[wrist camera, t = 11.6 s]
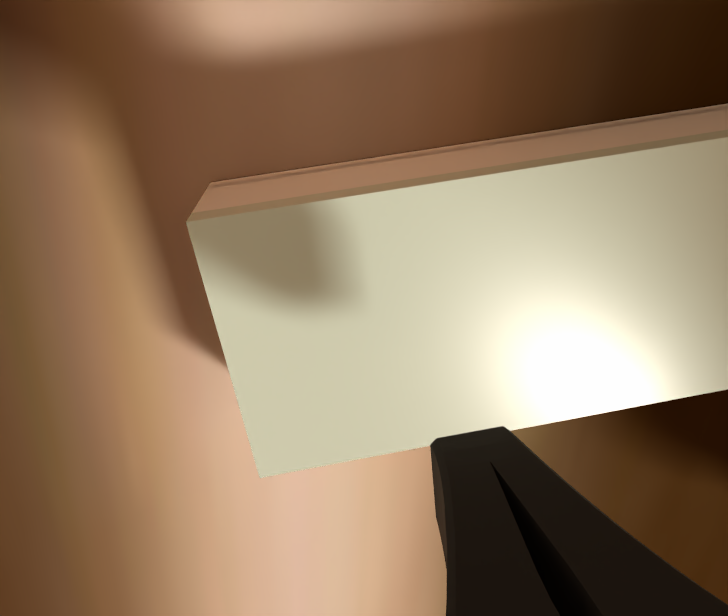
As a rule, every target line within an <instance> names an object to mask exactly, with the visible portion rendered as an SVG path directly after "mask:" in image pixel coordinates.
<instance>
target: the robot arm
mask: <svg viewBox="0 0 728 616" xmlns="http://www.w3.org/2000/svg"><path fill="white" fill-rule="evenodd" d="M430 446H431V459H432V471H433V484H434V496H435V509H436V518H437V522H438V526H439V531H440V535H441V540H442V545H443V551H444V556H445V562H446V568H447V605H446V616H728V605H727V604H726V603H724V602H723V601H721V600H720V599H718V598H717V597H715V596H714V595H712V594H711V593H709V592H708V591H706V590H705V589H704V588H702V587H701V586H699V585H698V584H696V583H695V582H694V581H692V580H691V579H689V578H688V577H687V576H685V575H684V574H682V573H681V572H680V571H678V570H677V569H675V568H674V567H673V566H671V565H670V564H669V563H667V562H666V561H665V560H663V559H662V558H661V557H659V556H658V555H657V554H655V553H654V552H653V551H651V550H650V549H649V548H647V547H646V546H645V545H643V544H642V543H641V542H639V541H638V540H637V539H635V538H634V537H633V536H632V535H630V534H629V533H628V532H626V531H625V530H624V529H623V528H621V527H620V526H619V525H618V524H616V523H615V522H614V521H613V520H611V519H610V518H609V517H608V516H607V515H605V514H604V513H603V512H602V511H600V510H599V509H598V508H597V507H596V506H594V505H593V504H592V503H591V502H590V501H588V500H587V499H586V498H585V497H583V496H582V495H581V494H580V493H579V492H577V491H576V490H575V489H574V488H573V487H572V486H571V485H569V484H568V483H567V482H566V481H565V480H564V479H562V478H561V477H560V476H559V475H558V474H557V473H556V472H555V471H553V470H552V469H551V468H550V467H549V466H548V465H547V464H545V463H544V462H543V461H542V460H541V459H540V458H539V457H538V456H537V455H536V454H534V453H533V452H532V451H531V450H530V449H529V448H528V447H527V446H526V445H525V444H524V443H523V442H521V441H520V440H519V439H518V438H517V437H516V436H515V435H514V434H513V433H512V432H511V431H510V430H508V429H507V428H506V427H504V426H500V427H495V428H489V429H484V430H478V431H473V432H467V433H462V434H456V435H451V436H446V437H440V438H436V439H435V440H434V441H433V442H432V443H431V444H430Z"/></svg>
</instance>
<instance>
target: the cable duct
mask: <svg viewBox="0 0 728 616" xmlns="http://www.w3.org/2000/svg"><path fill="white" fill-rule="evenodd" d="M722 130H728V104H722V105H715V106H708V107H702V108H695V109H689V110H682V111H676V112H669V113H663V114H656V115H649V116H643V117H636V118H630V119H623V120H617V121H610V122H604V123H597V124H590V125H584V126H577V127H571V128H564V129H558V130H551V131H544V132H538V133H531V134H525V135H518V136H512V137H505V138H499V139H492V140H485V141H479V142H472V143H466V144H459V145H453V146H446V147H440V148H433V149H426V150H420V151H413V152H407V153H400V154H394V155H387V156H381V157H374V158H367V159H361V160H354V161H348V162H341V163H335V164H328V165H321V166H315V167H308V168H302V169H295V170H289V171H282V172H276V173H269V174H262V175H256V176H249V177H243V178H236V179H230V180H223V181H217V182H210V184H209V186H208V187H207V189H206V190H205V192H204V194H203V195H202V197H201V199H200V200H199V202H198V203H197V205H196V207H195V208H194V210H193V212H192V213H196V212H202V211H208V210H215V209H221V208H228V207H234V206H240V205H247V204H253V203H260V202H266V201H273V200H279V199H285V198H292V197H298V196H305V195H311V194H317V193H324V192H330V191H337V190H343V189H350V188H356V187H362V186H369V185H375V184H382V183H388V182H394V181H401V180H407V179H414V178H420V177H427V176H433V175H439V174H446V173H452V172H459V171H465V170H471V169H478V168H484V167H491V166H497V165H504V164H510V163H516V162H523V161H529V160H536V159H542V158H548V157H555V156H561V155H568V154H574V153H581V152H587V151H593V150H600V149H606V148H613V147H619V146H625V145H632V144H638V143H645V142H651V141H658V140H664V139H670V138H677V137H683V136H690V135H696V134H702V133H709V132H715V131H722Z"/></svg>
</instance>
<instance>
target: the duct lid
mask: <svg viewBox="0 0 728 616" xmlns="http://www.w3.org/2000/svg"><path fill="white" fill-rule="evenodd" d="M186 225H187V228H188V232H189V235H190V239H191V242H192V246H193V249H194V253H195V256H196V259H197V263H198V266H199V270H200V273H201V277H202V280H203V284H204V287H205V291H206V294H207V297H208V301H209V304H210V308H211V311H212V315H213V318H214V322H215V325H216V329H217V332H218V335H219V339H220V342H221V346H222V349H223V353H224V356H225V360H226V363H227V367H228V370H229V374H230V377H231V380H232V384H233V387H234V391H235V394H236V398H237V401H238V405H239V408H240V412H241V415H242V418H243V422H244V425H245V429H246V432H247V436H248V439H249V443H250V446H251V450H252V453H253V457H254V460H255V463H256V467H257V470H258V474H259V477H260V478H263V477H268V476H274V475H279V474H284V473H289V472H295V471H300V470H305V469H310V468H316V467H321V466H326V465H332V464H337V463H342V462H347V461H353V460H358V459H363V458H368V457H374V456H379V455H384V454H389V453H395V452H400V451H405V450H411V449H416V448H421V447H426V446H430V444H431V443H432V442H433V441H434V440H435V439H436V438H440V437H446V436H451V435H456V434H462V433H467V432H473V431H478V430H484V429H489V428H495V427H500V426H504V427H506V428H507V429H508V430H510V431H511V430H516V429H521V428H527V427H532V426H537V425H542V424H548V423H553V422H558V421H563V420H569V419H574V418H579V417H585V416H590V415H595V414H600V413H606V412H611V411H616V410H621V409H627V408H632V407H637V406H643V405H648V404H653V403H658V402H664V401H669V400H674V399H679V398H685V397H690V396H695V395H701V394H706V393H711V392H716V391H722V390H727V389H728V130H722V131H715V132H709V133H702V134H696V135H690V136H683V137H677V138H670V139H664V140H658V141H651V142H645V143H638V144H632V145H625V146H619V147H613V148H606V149H600V150H593V151H587V152H581V153H574V154H568V155H561V156H555V157H548V158H542V159H536V160H529V161H523V162H516V163H510V164H504V165H497V166H491V167H484V168H478V169H471V170H465V171H459V172H452V173H446V174H439V175H433V176H427V177H420V178H414V179H407V180H401V181H394V182H388V183H382V184H375V185H369V186H362V187H356V188H350V189H343V190H337V191H330V192H324V193H317V194H311V195H305V196H298V197H292V198H285V199H279V200H273V201H266V202H260V203H253V204H247V205H240V206H234V207H228V208H221V209H215V210H208V211H202V212H196V213H191V215H190V216H189V218H188V219H187V221H186Z"/></svg>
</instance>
